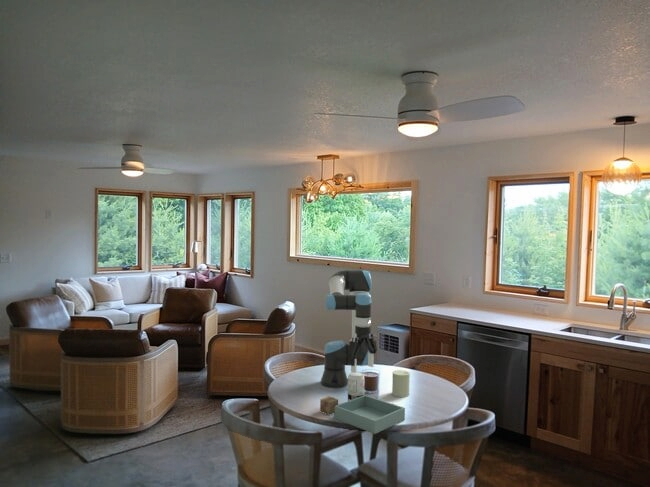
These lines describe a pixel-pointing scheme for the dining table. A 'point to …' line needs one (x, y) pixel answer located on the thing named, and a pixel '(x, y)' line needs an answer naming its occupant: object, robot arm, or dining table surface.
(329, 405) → the walnut cube
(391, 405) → the tote
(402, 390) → the can
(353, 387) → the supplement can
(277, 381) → the dining table surface
